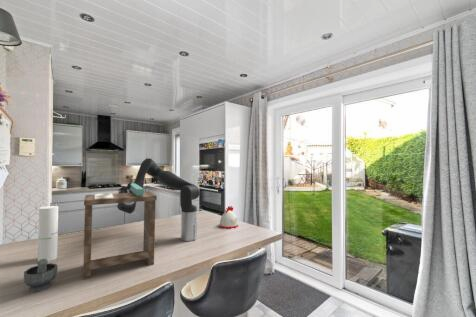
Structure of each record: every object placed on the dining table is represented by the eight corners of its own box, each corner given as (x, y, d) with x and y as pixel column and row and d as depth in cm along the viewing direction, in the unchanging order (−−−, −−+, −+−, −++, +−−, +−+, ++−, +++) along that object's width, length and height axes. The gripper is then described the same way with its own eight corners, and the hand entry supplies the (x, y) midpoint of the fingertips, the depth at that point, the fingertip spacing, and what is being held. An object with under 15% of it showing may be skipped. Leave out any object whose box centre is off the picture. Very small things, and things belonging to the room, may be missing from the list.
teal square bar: (135, 188, 126) (135, 183, 126) (143, 195, 104) (143, 188, 104) (129, 188, 125) (129, 183, 125) (136, 195, 103) (136, 189, 103)
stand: (148, 252, 119) (149, 190, 119) (155, 265, 105) (156, 195, 106) (83, 265, 104) (85, 194, 105) (82, 280, 91) (84, 199, 91)
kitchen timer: (241, 226, 171) (242, 206, 171) (228, 230, 161) (229, 209, 161) (228, 222, 180) (229, 203, 180) (215, 226, 170) (216, 206, 170)
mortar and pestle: (23, 286, 86) (23, 254, 86) (54, 278, 92) (55, 248, 93) (24, 300, 78) (25, 264, 78) (58, 289, 84) (59, 257, 85)
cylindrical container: (60, 257, 112) (62, 206, 112) (44, 263, 105) (45, 209, 105) (50, 255, 114) (52, 205, 114) (34, 261, 107) (35, 207, 108)
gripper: (116, 191, 131) (118, 178, 118) (142, 190, 138) (147, 177, 126) (116, 203, 128) (119, 191, 115) (143, 201, 135) (148, 190, 123)
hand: (133, 184), depth 121 cm, fingers closed on teal square bar, 3 cm apart
